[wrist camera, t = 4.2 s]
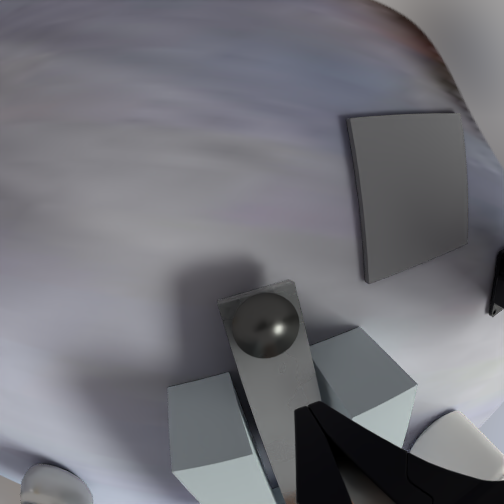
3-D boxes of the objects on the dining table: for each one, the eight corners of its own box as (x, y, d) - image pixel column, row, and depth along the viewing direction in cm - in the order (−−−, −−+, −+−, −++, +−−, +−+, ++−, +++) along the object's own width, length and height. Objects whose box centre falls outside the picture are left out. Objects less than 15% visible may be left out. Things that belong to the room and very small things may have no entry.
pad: (456, 113, 15) (460, 113, 15) (463, 242, 18) (467, 243, 18) (345, 119, 14) (350, 118, 13) (365, 281, 17) (369, 284, 16)
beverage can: (400, 444, 25) (457, 518, 14) (457, 397, 25) (520, 459, 14) (411, 461, 28) (456, 521, 17) (459, 421, 28) (509, 475, 17)
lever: (216, 300, 14) (218, 306, 13) (288, 279, 15) (296, 283, 13) (299, 537, 16) (304, 548, 14) (341, 522, 16) (347, 532, 15)
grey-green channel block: (167, 387, 16) (171, 471, 10) (359, 326, 18) (417, 384, 12) (239, 503, 22) (253, 551, 17) (355, 464, 24) (381, 506, 18)
